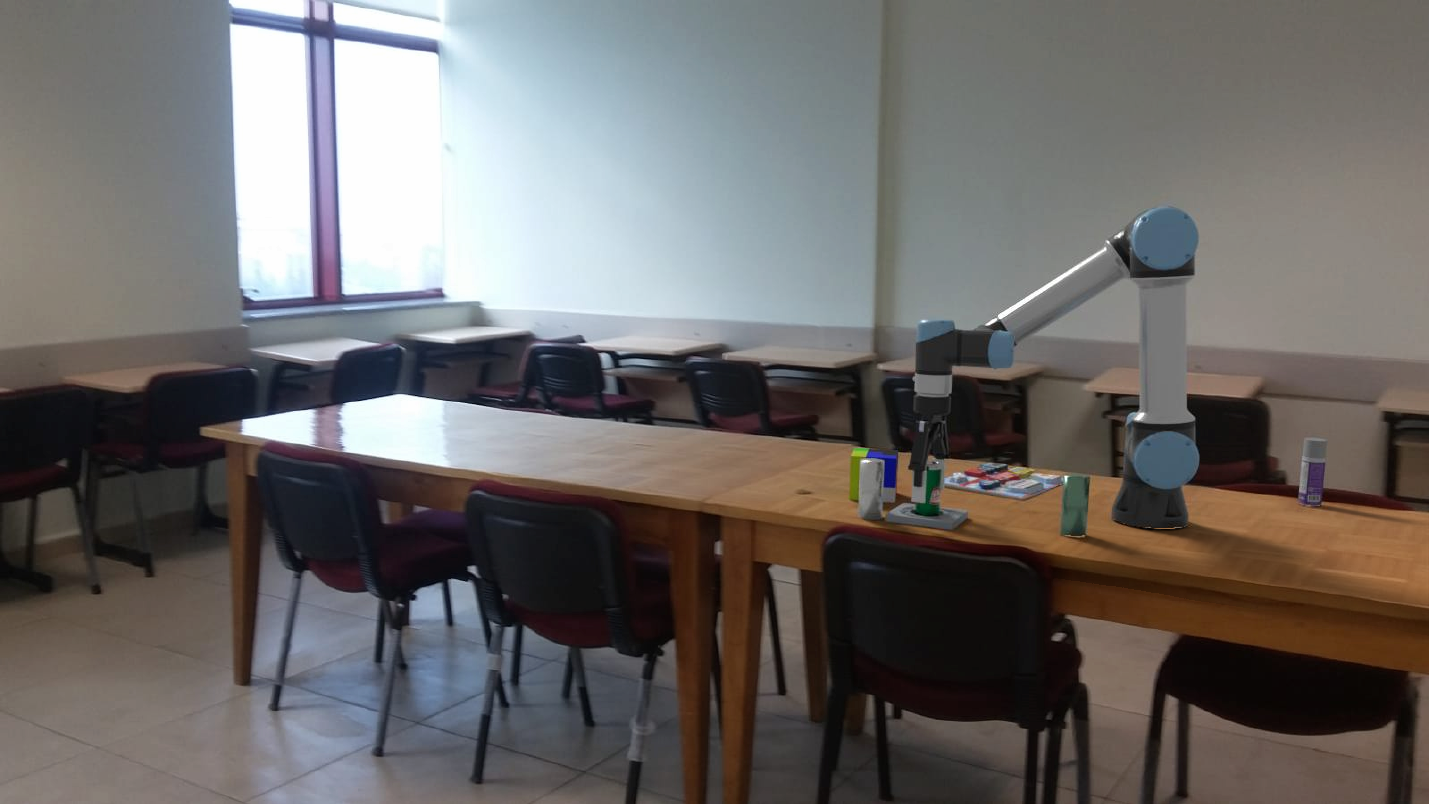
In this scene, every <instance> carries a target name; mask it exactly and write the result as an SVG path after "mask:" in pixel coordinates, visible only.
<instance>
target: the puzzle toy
mask: <svg viewBox="0 0 1429 804" xmlns="http://www.w3.org/2000/svg"><path fill="white" fill-rule="evenodd" d="M865 458H874V459H881V460H884V485H883V503H894V504H895V503H896V497H897V491H898V490H897V489H898V466H899V450H895V449H881V448H880V449H878V448H860V447H854V448H853V450H852V453H851V455H850V465H849V468H850V469H849V471H850V472H849V477H850V478H849V496H848V498H849V501H859V480H860V460H861V459H865Z"/></svg>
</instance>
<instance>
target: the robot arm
mask: <svg viewBox="0 0 1429 804" xmlns="http://www.w3.org/2000/svg"><path fill="white" fill-rule="evenodd" d="M1199 238H1200V236H1199V230H1198V228H1197V225H1196V222H1195V221H1194V220H1193V218H1192V217H1191V216H1190V215H1189V214H1188V213H1187V212H1186V211H1185V210H1182V209H1180V208H1177V207H1174V206H1171V205H1169V206H1165V205H1161V206H1157V207H1156V206H1155V207H1151V208H1149V209H1147V210H1144V211H1142V212H1141V213H1138V215H1136V216H1135V217H1133V219H1132V220H1131V221H1130V222H1128V223H1127V224H1126V225H1125V226H1123V228H1121V229H1120V230H1119V231H1117V232H1116V233H1115V234H1113V235H1112V236H1111V237H1109V238H1107V239H1105V241H1104V244H1103V247H1102V248H1101V249H1099V250H1098V251H1096V252H1095V253H1092V255H1091V254H1090V256H1087V257H1086V258H1085V259H1083V260H1081V262H1079V263H1077V264H1076V265H1074V266H1073V267H1071V268H1069V269H1068V270H1067V271H1065V272H1063V273H1061V274H1060V275H1058V276H1057V277H1056V278H1054V279H1052V280H1051V281H1049V282H1048V283H1046V284H1045V285H1043V286H1041V287H1040V288H1038V289H1036V290H1035V291H1034V292H1032V293H1029V295H1027V296H1026V297H1024V298H1022V299H1021V300H1019V301H1018V302H1017V303H1015V304H1013V305H1011V306H1010V307H1008V308H1007V309H1005V310H1004V311H1002V312H1000V313H999V314H998V315H997V316H995V317H993V318H991V319H990V320H987V321H986V322H985V323H983V324H981V325H978V326H977V327H975V328H974V329H973V330H972V329H959V328H956V326H955V322H954V320H953V319H949V318H948V319H947V318H931V317H930V318H922V319H920V320H919V321H918V322H917V327H916V338H915V339H916V340H915V359H914V360H915V362H914V363H915V364H914V365H915V366H914V368H915V369H914V376H912V381H913V382H914V389H913V390H914V392H915V393H916V394H914V395H913V407H912V408H913V409H912V410H913V412H914V413H915V414H919V415H921V420H916V422H915V432H914V436H913V444H912V448H911V453H910V459H909V464H908V466H907V470H908V471H912V474H911V475H912V477H911V478H912V479H911V499H910V501H911V502H914V503H915V502H919V503H925V499H926V476H927V471H925V468H926V464H927V461H929V460H928V459H929V455H930V452H931V450H932V454H933V457H934V458H932V459H931V461H934V462H938V463H940V467H941V468H942V473H941V491H944V490H945V488H944V484H945V477H946V460H950V459H951V454H950V448H949V438H948V429H947V415H949V414H950V413H951V410H952V409H951V407H952V406H951V405H952V397H951V395H950V394H952V389H953V388H952V387H953V368H954V367H964V368H965V367H969V368H982V369H983V368H985V369H987V368H988V369H993V370H997V369H1009V368H1011V367H1012V366H1013V365H1014V355H1015V353H1014V352H1015V347H1016V346H1018V345H1019V344H1021V343H1022V342H1024V341H1025V340H1028V339H1029V338H1031V337H1032V336H1034V335H1035V334H1037V333H1039V332H1040V331H1043V330H1044V329H1045V328H1046V327H1049V326H1050V325H1052V324H1053V323H1055V322H1056V321H1058V320H1059V319H1062V318H1063V317H1064V316H1066V315H1068V314H1069V313H1072V311H1074V310H1076V309H1077V308H1079V307H1081V306H1082V305H1084V304H1085V303H1087V302H1088V301H1090V300H1092V299H1094V298H1095V297H1097V296H1098V295H1100V294H1101V293H1103V292H1105V291H1106V290H1108V289H1110V288H1111V287H1113V286H1115V285H1116V284H1118V283H1119V282H1120V281H1122V280H1125V279H1127V280H1130V281H1131V282H1132V283H1134V285H1136V286H1137V287H1138V357H1139V358H1138V359H1139V361H1138V362H1139V363H1138V365H1139V367H1138V371H1139V372H1138V375H1139V378H1138V379H1139V385H1138V386H1139V409H1138V411H1137V412H1136V411H1134V412H1131V413H1129V414H1128V415H1127V418H1126V423H1125V426H1124V427H1125V439H1124V453H1123V454H1124V456H1123V468H1122V469H1123V470H1122V472H1123V473H1122V482H1121V484H1120V488H1119V490H1118V492H1117V494H1116V498H1115V499H1114V501H1113V504H1112V506H1111V513H1110V514H1111V515H1110V517H1111V519H1112V520H1113V519H1115V520H1116V521H1119V522H1121V523H1120V524H1122V523H1125V524H1128V525H1127V526H1129V525H1132V526H1131V527H1134V526H1137V527H1136V528H1139V527H1151V528H1174V527H1184V526H1186V525H1187V524H1188V525H1189V520H1190V519H1189V517H1190V516H1189V511H1188V507H1187V503H1186V500H1185V495H1184V491H1183V486H1184V485H1186V484H1187V483H1189V482H1190V481H1191V480H1192V479H1193V478H1194V476H1195V475H1196V473H1197V470H1198V468H1199V465H1200V453H1199V449H1198V447H1197V445H1196V417H1195V416H1194V415H1193V414H1192V413H1191V412H1190V411H1189V410H1188V407H1187V406H1188V404H1187V403H1188V401H1187V400H1188V399H1187V398H1188V395H1187V394H1188V393H1187V391H1188V390H1187V385H1188V384H1187V379H1188V377H1187V376H1188V375H1187V373H1188V372H1187V359H1188V357H1187V355H1188V354H1187V286H1188V284H1189V283H1190V282H1191V281H1192V280H1193V279H1194V278H1195V273H1196V272H1195V271H1196V270H1195V269H1196V265H1195V263H1196V261H1195V260H1196V257H1195V256H1196V255H1195V254H1196V251H1197V249H1198V244H1199V242H1200V241H1199V240H1200V239H1199ZM1116 521H1115V522H1116ZM1119 522H1118V523H1119ZM1125 524H1124V525H1125ZM1184 528H1185V527H1184Z"/></svg>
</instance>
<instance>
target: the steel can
mask: <svg viewBox="0 0 1429 804" xmlns="http://www.w3.org/2000/svg"><path fill="white" fill-rule="evenodd" d="M883 485H884V460H881V459H874V458H865V459H861V460H860V480H859V500H858V507H857V508H858V510H857V512H858V513H857V516H858V517H857V518H859V519H863V520H868V521H876V520H880V519H881V520H882V518H883V508H884V507H883V506H884V502H883Z"/></svg>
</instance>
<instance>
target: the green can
mask: <svg viewBox="0 0 1429 804" xmlns="http://www.w3.org/2000/svg"><path fill="white" fill-rule="evenodd" d="M1062 477H1063V485H1062V493H1061V510H1060V512H1061V513H1060V527H1059V534H1060V533H1061V534H1062V535H1071V536H1082V535H1086V536H1087V527H1088V526H1087V525H1088V514H1089V511H1088V510H1089V500H1090V487H1091V486H1090V484H1091V482H1090V481H1091V476H1090V475H1088V474H1084V473H1075V472H1073V473H1071V472H1069V473H1068V472H1067V473H1064V474H1063V476H1062ZM1062 535H1061V536H1062Z"/></svg>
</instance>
